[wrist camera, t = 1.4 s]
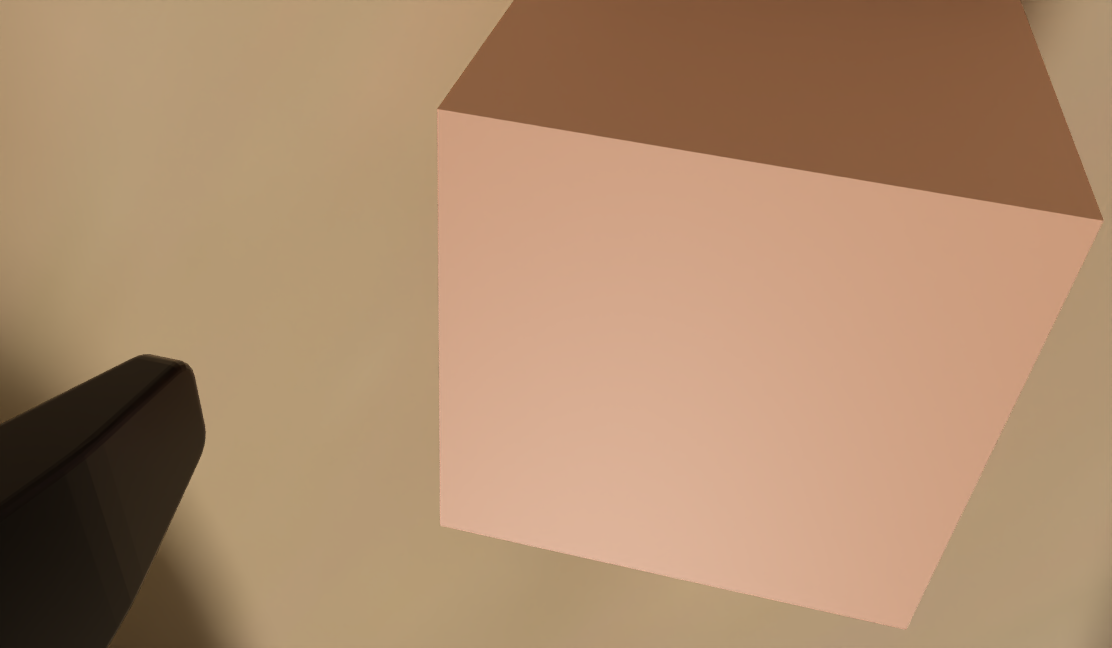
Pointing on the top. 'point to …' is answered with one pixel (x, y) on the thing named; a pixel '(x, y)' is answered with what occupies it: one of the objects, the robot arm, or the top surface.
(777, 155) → the terracotta cube
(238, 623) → the top surface
